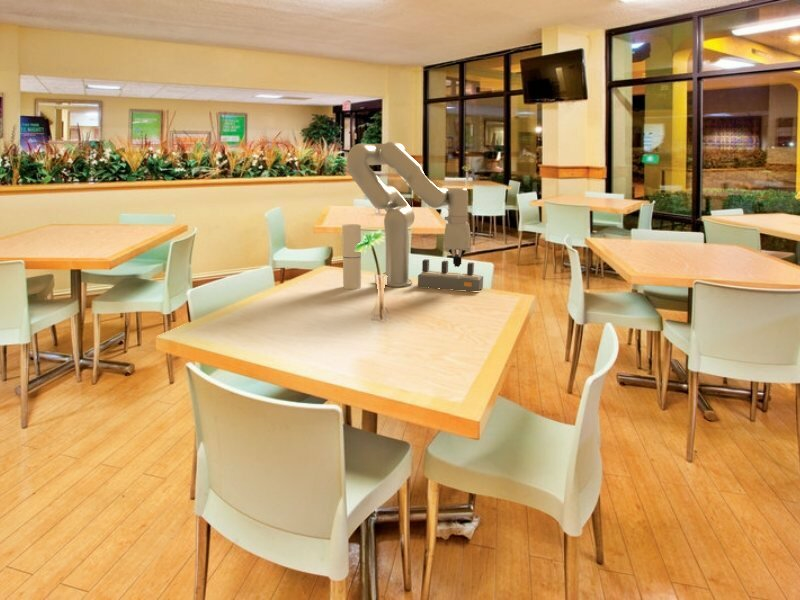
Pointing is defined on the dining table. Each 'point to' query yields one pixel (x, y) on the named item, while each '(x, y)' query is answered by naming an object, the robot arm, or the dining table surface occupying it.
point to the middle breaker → (444, 267)
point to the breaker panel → (450, 280)
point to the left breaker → (425, 265)
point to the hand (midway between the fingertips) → (457, 266)
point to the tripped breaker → (470, 268)
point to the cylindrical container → (351, 256)
